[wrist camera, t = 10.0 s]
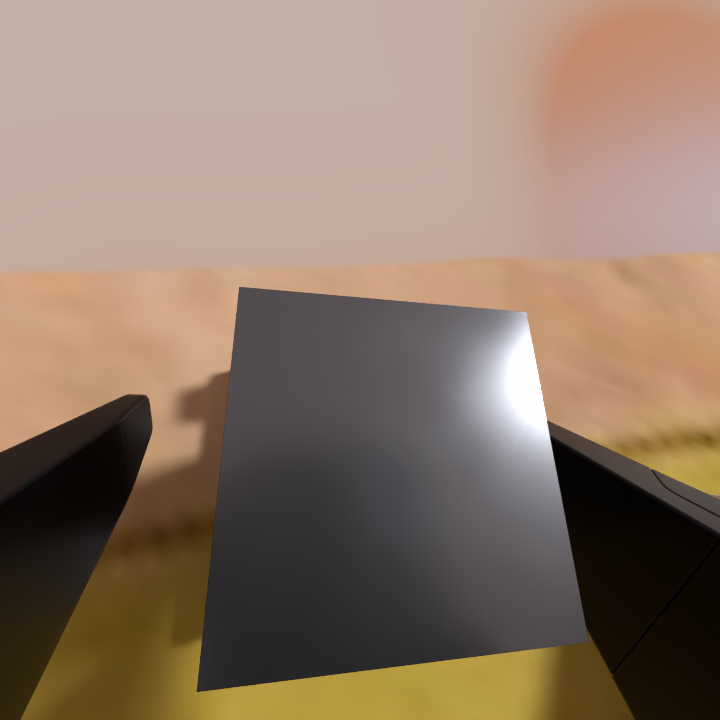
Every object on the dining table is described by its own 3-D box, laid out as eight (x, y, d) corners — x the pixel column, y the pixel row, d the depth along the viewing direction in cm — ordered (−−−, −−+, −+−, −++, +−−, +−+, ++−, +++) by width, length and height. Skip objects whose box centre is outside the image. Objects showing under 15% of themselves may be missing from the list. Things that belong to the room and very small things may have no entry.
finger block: (355, 525, 16) (589, 642, 4) (262, 529, 15) (197, 692, 3) (353, 428, 17) (523, 297, 5) (268, 427, 16) (241, 269, 5)
